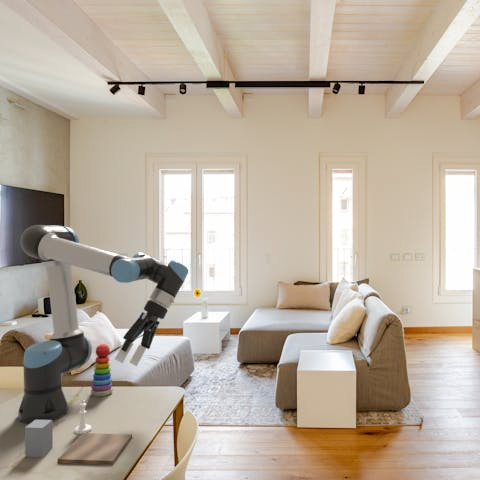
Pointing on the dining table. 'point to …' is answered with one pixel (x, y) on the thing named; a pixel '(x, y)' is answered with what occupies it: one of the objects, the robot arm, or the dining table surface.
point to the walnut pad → (96, 449)
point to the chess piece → (82, 420)
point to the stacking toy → (102, 373)
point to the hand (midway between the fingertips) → (126, 362)
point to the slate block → (38, 438)
